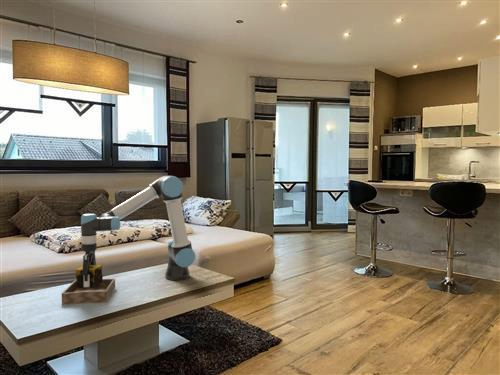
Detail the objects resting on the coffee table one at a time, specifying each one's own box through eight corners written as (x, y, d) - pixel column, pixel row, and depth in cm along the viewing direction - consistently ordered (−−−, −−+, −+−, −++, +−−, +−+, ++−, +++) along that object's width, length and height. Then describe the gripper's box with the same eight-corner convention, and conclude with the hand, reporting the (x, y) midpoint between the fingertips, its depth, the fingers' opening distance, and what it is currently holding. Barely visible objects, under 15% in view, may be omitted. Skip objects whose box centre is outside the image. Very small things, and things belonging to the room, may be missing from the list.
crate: (115, 288, 214) (115, 278, 214) (106, 302, 193) (106, 291, 192) (75, 289, 211) (75, 280, 210) (61, 304, 189) (61, 293, 189)
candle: (103, 282, 206) (103, 264, 205) (94, 288, 196) (94, 269, 195) (85, 281, 207) (85, 264, 206) (75, 288, 197) (75, 269, 196)
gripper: (87, 238, 211) (88, 277, 212) (74, 248, 188) (75, 291, 189) (101, 238, 212) (102, 276, 213) (90, 247, 189) (91, 290, 190)
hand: (89, 283), depth 201 cm, fingers closed on candle, 11 cm apart
